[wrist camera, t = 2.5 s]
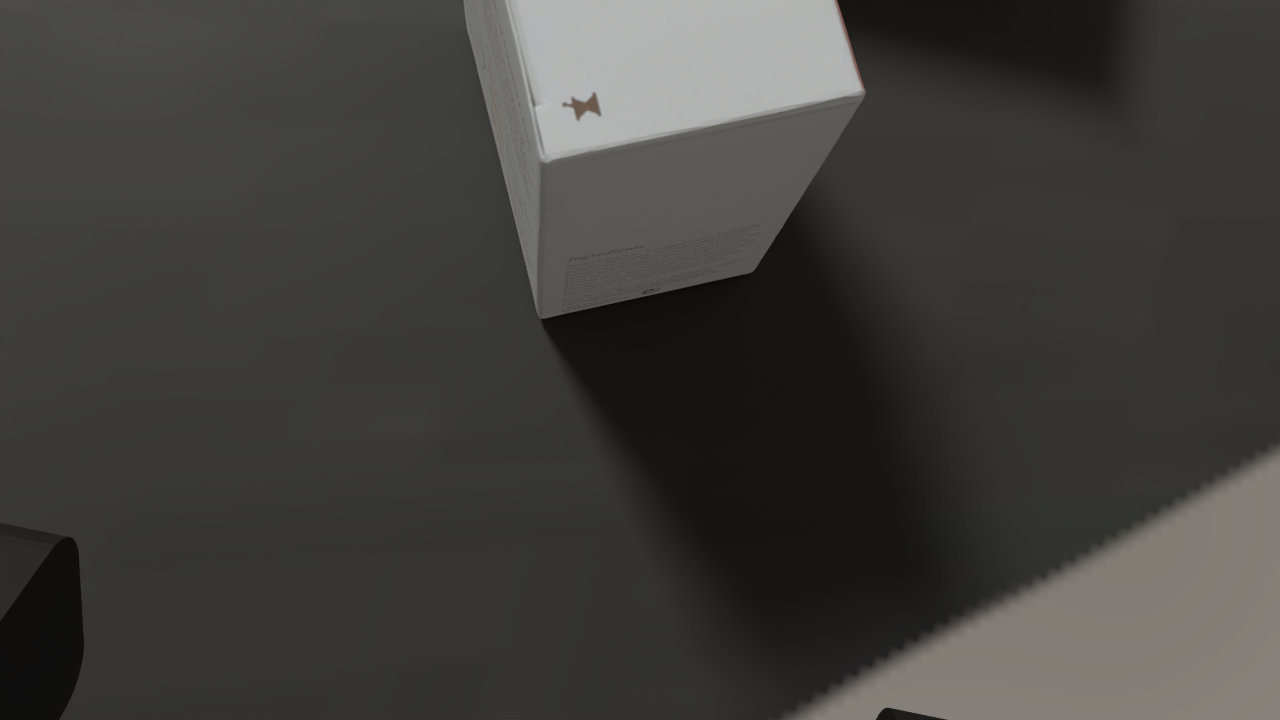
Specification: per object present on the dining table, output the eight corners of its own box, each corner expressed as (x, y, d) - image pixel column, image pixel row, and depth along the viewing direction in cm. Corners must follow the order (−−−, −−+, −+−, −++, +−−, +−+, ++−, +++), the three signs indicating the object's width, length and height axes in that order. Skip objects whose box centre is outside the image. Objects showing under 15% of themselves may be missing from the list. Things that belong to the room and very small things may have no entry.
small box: (755, 277, 30) (878, 106, 20) (534, 325, 29) (541, 174, 19) (675, -16, 31) (751, -320, 21) (462, 23, 30) (432, -272, 20)
